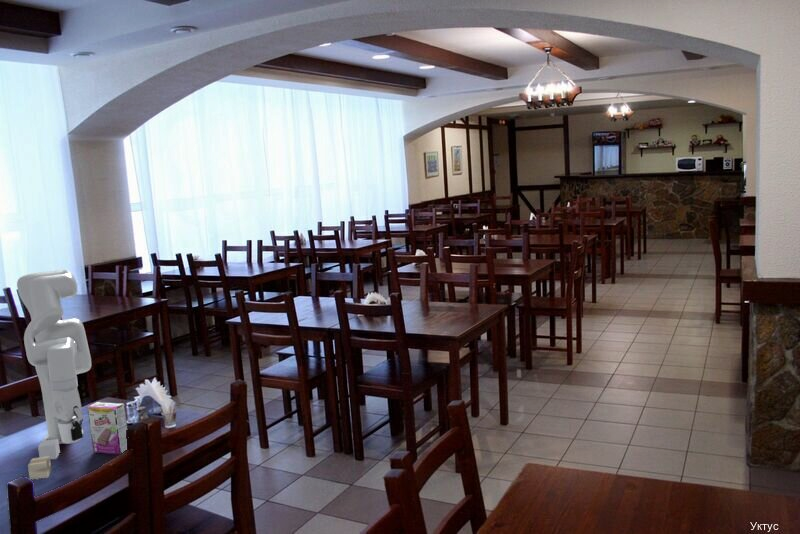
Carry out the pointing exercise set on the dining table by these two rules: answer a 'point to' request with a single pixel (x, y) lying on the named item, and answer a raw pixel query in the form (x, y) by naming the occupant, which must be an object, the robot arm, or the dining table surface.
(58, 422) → the white cup
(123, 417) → the candy bar box
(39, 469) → the birch block
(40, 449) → the grey block
